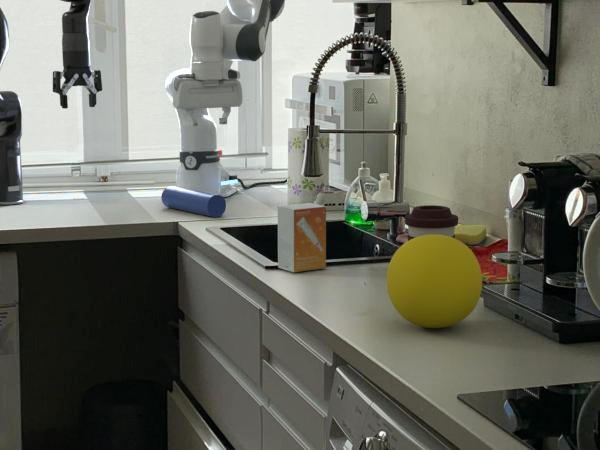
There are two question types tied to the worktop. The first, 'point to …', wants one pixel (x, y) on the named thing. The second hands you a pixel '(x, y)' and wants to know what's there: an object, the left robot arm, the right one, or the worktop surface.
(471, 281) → the toy
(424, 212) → the coffee cup
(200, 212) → the rod
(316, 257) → the small box
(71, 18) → the left robot arm
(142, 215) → the worktop surface
